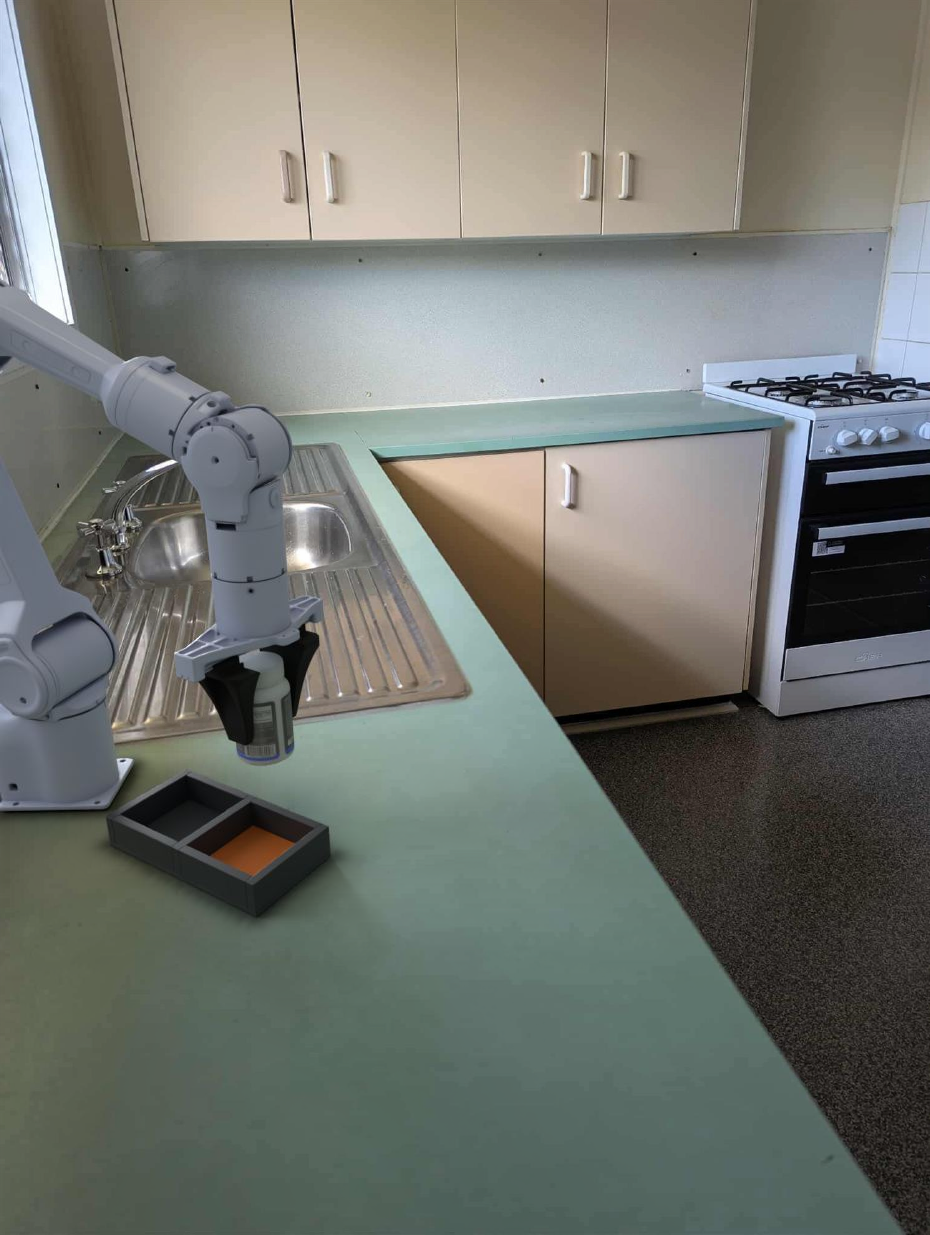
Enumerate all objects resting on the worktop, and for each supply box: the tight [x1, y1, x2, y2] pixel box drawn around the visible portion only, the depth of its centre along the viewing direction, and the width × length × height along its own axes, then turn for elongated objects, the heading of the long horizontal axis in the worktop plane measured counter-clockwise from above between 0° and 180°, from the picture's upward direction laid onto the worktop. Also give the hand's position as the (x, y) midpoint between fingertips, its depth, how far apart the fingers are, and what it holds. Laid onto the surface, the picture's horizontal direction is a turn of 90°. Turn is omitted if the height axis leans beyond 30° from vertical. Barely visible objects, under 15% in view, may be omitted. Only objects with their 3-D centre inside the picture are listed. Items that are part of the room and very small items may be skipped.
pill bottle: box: [235, 651, 295, 767], centre depth 71 cm, size 5×5×8 cm
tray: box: [105, 768, 332, 918], centre depth 71 cm, size 16×9×3 cm, turn 59°
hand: (263, 727), depth 72 cm, fingers closed on pill bottle, 5 cm apart
